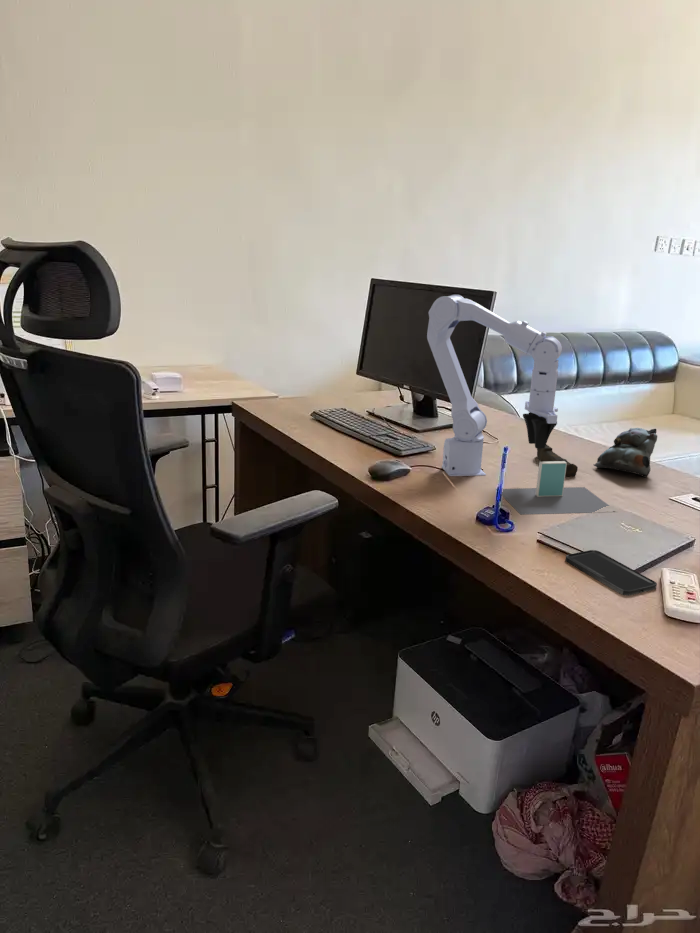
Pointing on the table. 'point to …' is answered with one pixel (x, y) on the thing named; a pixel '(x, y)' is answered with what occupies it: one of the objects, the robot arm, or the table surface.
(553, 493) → the tile
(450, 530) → the table surface
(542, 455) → the hand tool
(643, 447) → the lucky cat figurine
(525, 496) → the mat
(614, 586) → the phone
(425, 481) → the table surface
